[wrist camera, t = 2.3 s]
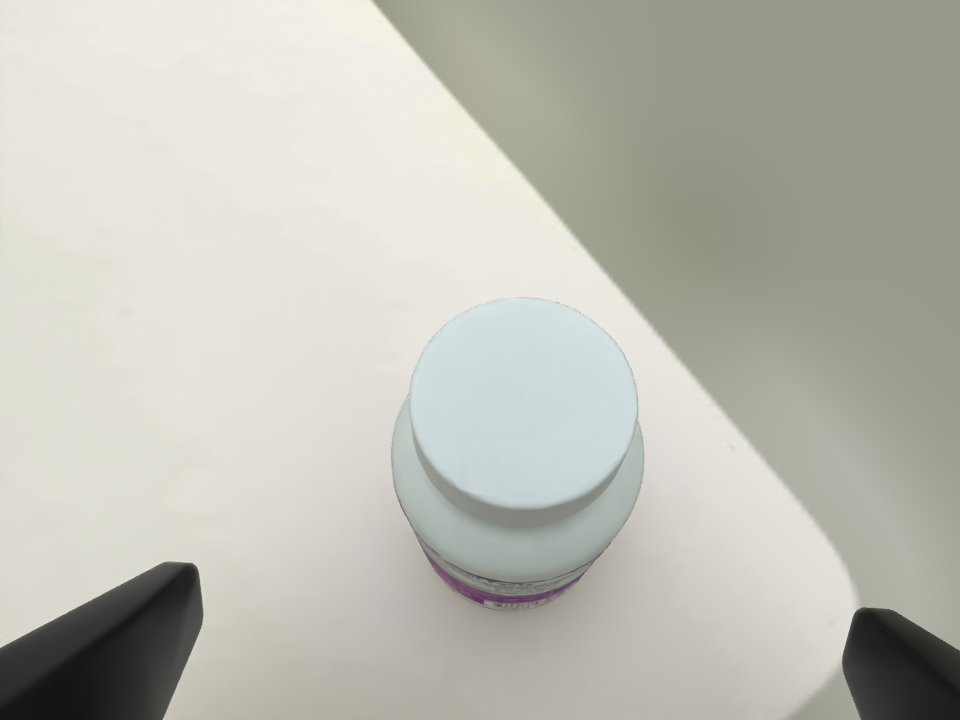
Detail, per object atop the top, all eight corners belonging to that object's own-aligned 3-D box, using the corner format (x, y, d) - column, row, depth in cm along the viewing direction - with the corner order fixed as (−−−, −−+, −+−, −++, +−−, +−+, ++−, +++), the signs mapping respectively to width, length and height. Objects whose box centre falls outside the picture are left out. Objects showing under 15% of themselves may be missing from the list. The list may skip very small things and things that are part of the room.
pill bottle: (472, 409, 21) (463, 220, 13) (623, 483, 20) (725, 331, 12) (385, 559, 19) (304, 453, 11) (549, 651, 18) (606, 617, 10)
